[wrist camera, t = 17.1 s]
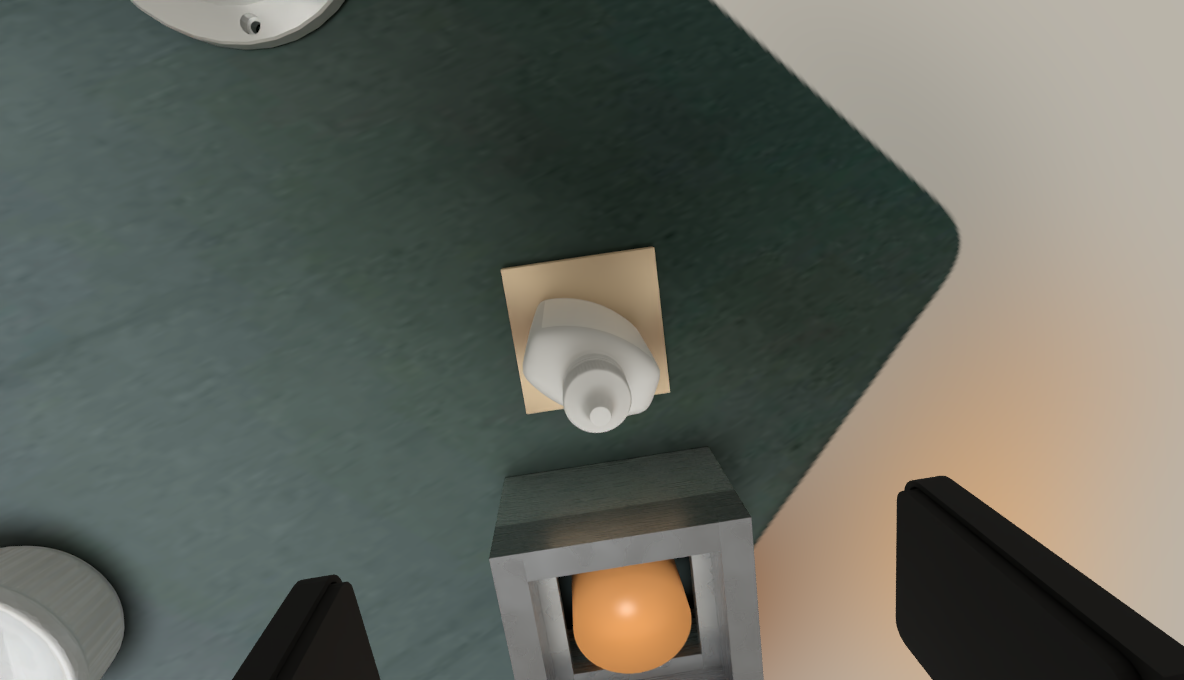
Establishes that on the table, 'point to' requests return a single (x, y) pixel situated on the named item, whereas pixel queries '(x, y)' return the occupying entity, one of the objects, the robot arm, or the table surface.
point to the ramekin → (55, 616)
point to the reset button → (630, 616)
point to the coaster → (594, 278)
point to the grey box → (627, 560)
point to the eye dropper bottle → (589, 363)
